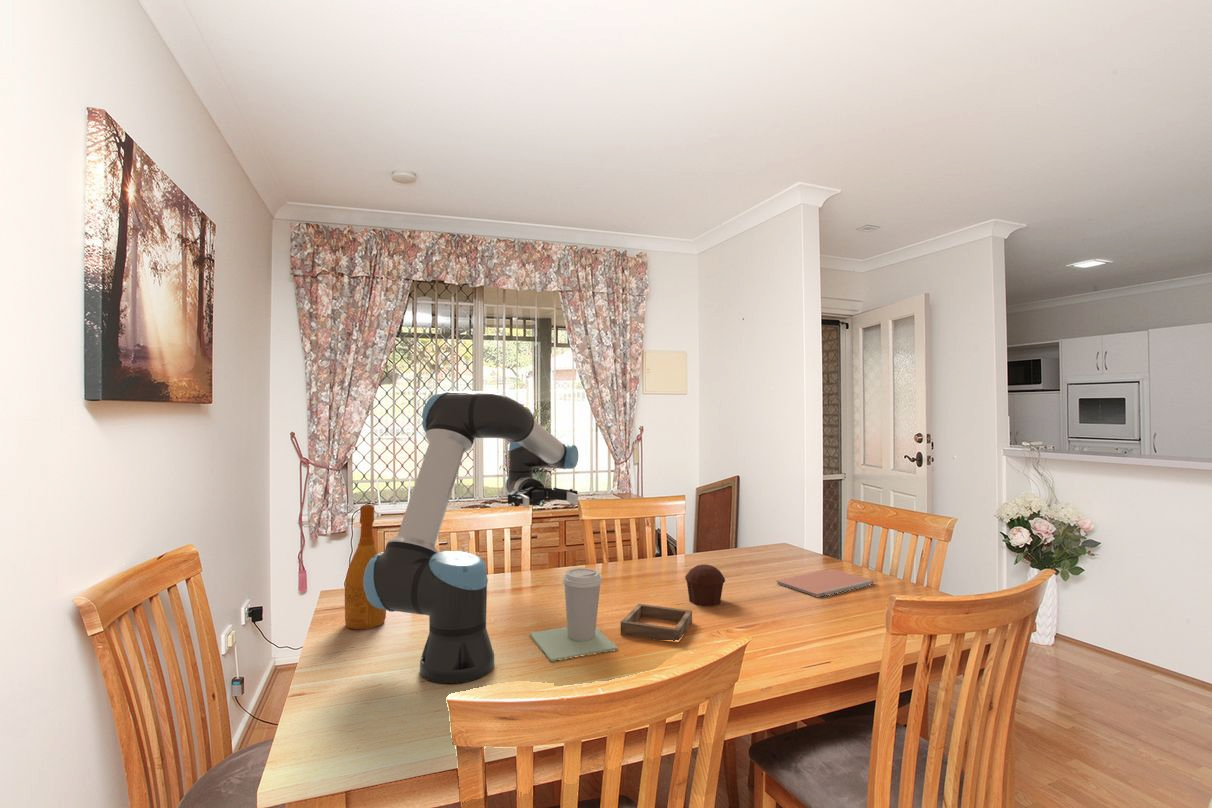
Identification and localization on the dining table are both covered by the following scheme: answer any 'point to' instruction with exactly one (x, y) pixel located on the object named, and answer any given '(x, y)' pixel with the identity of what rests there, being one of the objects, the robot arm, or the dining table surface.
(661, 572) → the dining table surface
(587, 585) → the coffee cup
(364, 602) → the wine bottle
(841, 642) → the dining table surface
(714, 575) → the muffin
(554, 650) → the mat
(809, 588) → the notebook
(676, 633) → the square tray
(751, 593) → the dining table surface
